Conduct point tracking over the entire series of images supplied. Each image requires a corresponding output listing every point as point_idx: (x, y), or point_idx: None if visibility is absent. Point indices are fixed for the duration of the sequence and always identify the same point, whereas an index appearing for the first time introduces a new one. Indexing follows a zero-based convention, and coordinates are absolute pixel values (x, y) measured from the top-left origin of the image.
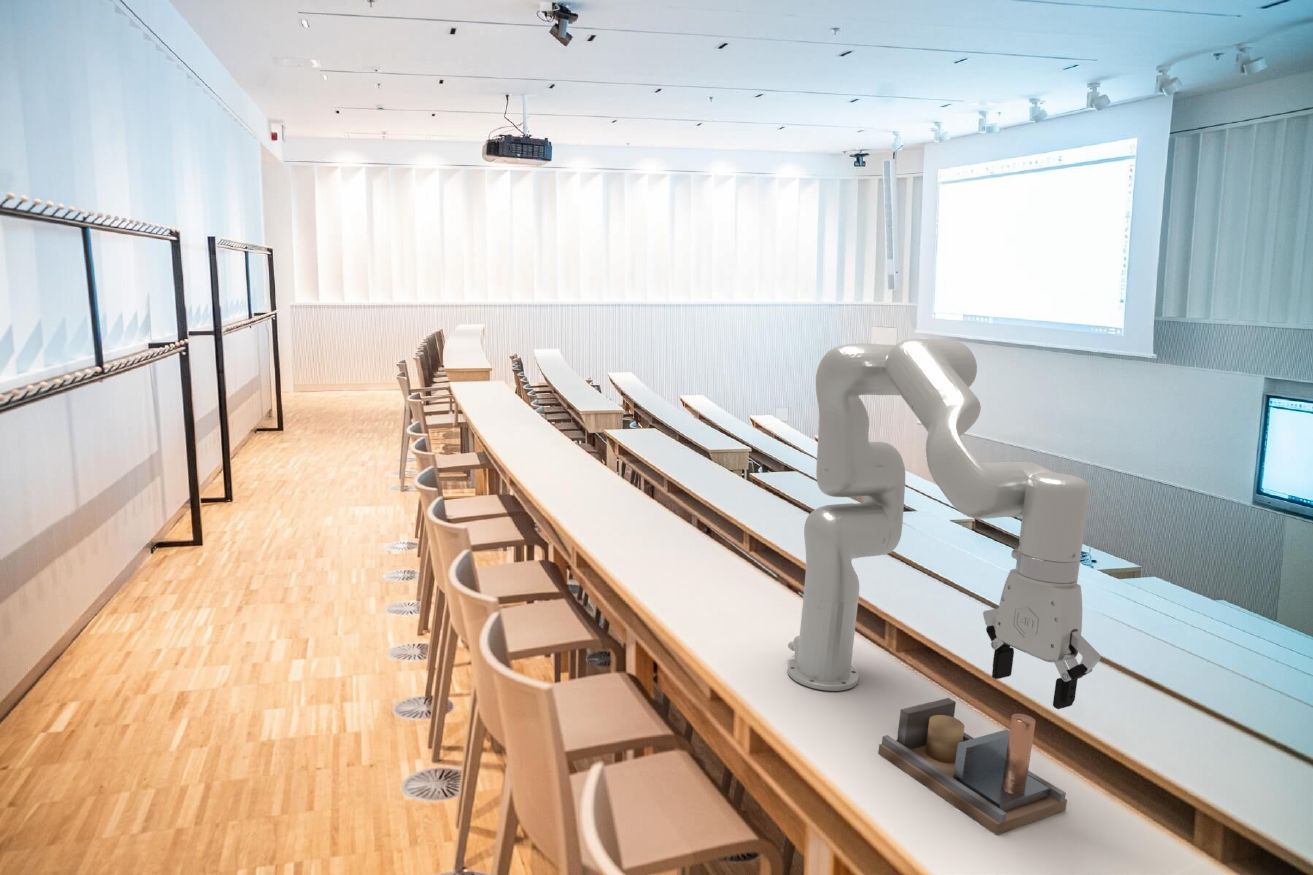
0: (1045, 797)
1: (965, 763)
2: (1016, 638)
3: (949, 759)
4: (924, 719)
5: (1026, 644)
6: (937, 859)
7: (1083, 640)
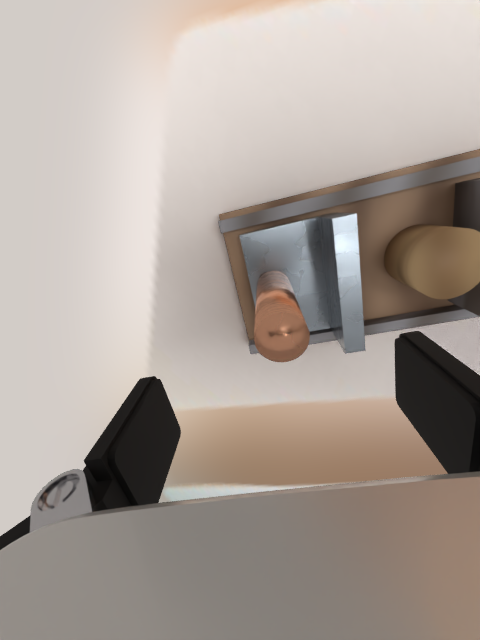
0: None
1: (324, 221)
2: (396, 603)
3: (389, 248)
4: None
5: (238, 582)
6: (183, 69)
7: None
